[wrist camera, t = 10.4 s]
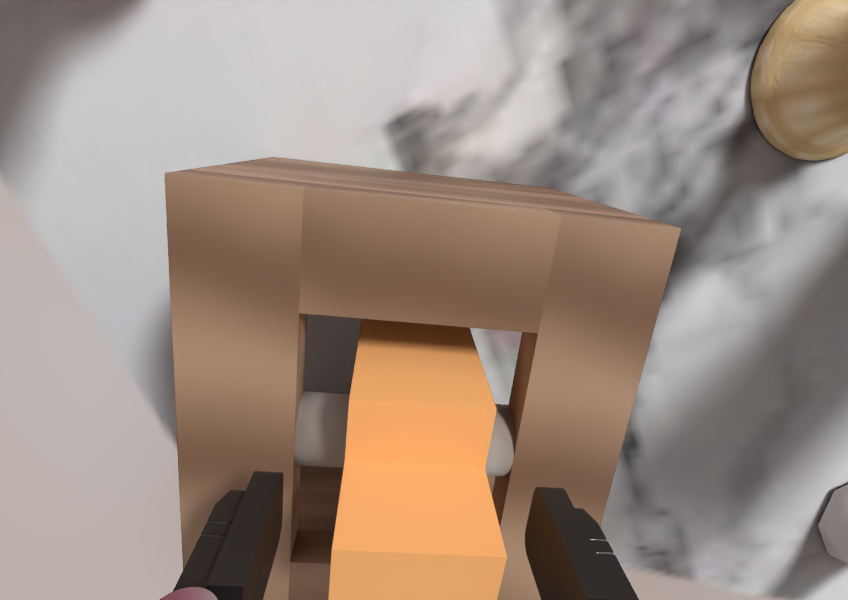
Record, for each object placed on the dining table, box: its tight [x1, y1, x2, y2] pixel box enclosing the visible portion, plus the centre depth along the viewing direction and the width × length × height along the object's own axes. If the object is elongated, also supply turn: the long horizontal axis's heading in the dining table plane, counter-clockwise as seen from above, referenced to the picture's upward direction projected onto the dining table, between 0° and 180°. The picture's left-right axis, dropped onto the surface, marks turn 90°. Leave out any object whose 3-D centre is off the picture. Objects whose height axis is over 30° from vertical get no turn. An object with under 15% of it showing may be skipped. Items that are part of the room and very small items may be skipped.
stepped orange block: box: [328, 319, 507, 600], centre depth 18 cm, size 6×4×14 cm, turn 174°
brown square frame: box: [165, 157, 681, 600], centre depth 21 cm, size 16×14×12 cm
